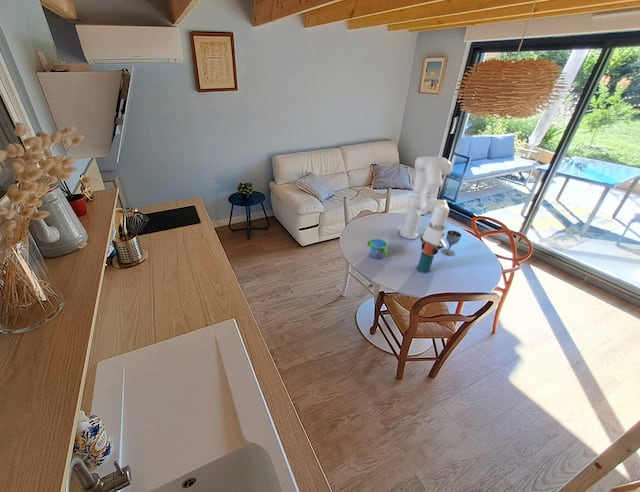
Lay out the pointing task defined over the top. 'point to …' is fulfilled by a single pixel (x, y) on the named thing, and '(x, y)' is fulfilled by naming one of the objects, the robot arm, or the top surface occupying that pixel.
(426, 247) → the cup
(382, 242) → the snack cup
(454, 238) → the wine glass
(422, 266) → the bottle
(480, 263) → the top surface
